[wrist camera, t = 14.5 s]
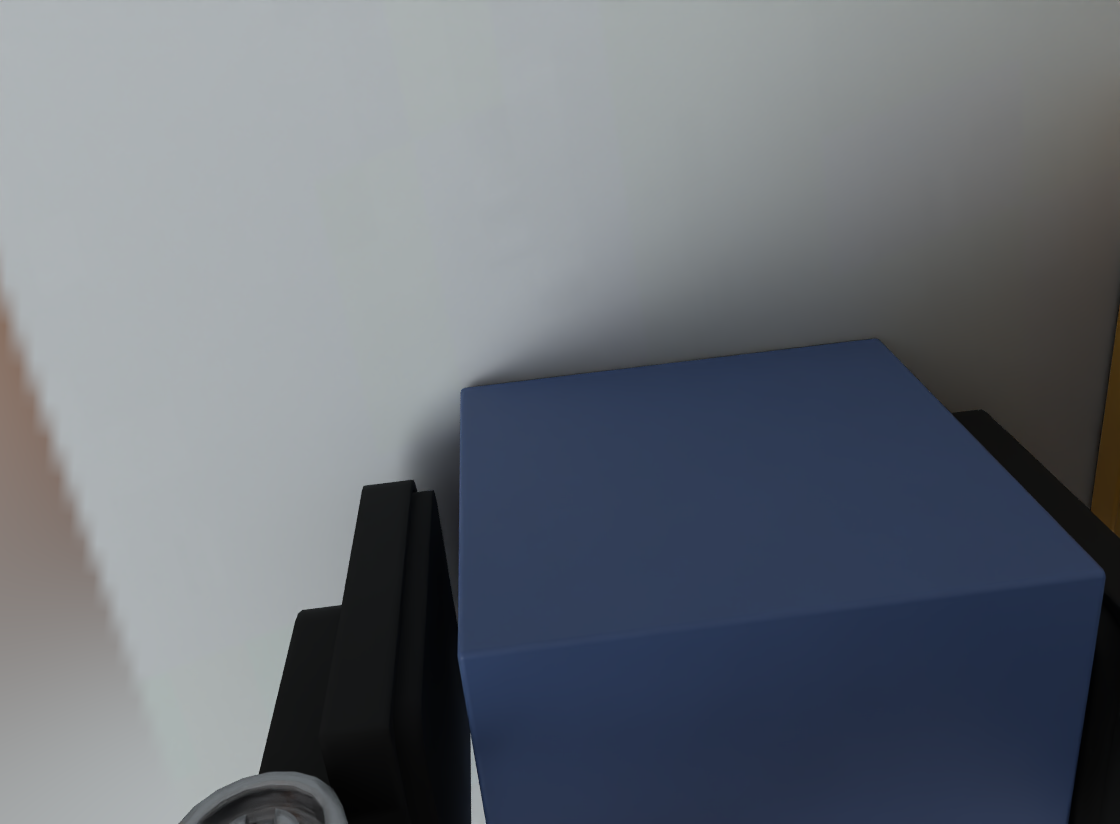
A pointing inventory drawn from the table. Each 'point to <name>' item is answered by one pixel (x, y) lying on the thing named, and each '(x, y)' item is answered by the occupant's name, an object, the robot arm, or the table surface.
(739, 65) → the table surface
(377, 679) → the robot arm
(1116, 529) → the ochre bin
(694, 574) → the blue block
